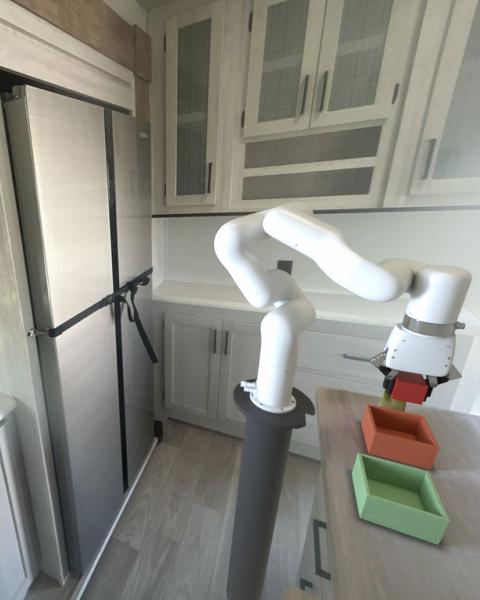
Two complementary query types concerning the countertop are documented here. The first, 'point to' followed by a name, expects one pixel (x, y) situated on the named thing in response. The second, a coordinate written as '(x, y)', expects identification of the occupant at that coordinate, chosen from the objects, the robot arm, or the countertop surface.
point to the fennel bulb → (392, 403)
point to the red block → (409, 387)
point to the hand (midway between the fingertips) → (404, 393)
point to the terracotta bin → (399, 436)
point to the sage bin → (399, 498)
